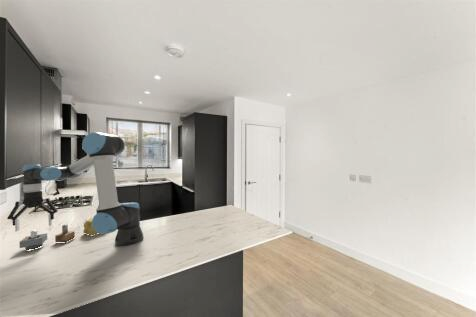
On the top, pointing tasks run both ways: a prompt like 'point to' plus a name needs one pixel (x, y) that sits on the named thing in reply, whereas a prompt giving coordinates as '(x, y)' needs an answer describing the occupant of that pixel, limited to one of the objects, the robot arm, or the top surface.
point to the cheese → (89, 227)
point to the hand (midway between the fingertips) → (34, 228)
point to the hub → (33, 235)
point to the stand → (64, 235)
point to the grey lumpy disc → (33, 240)
